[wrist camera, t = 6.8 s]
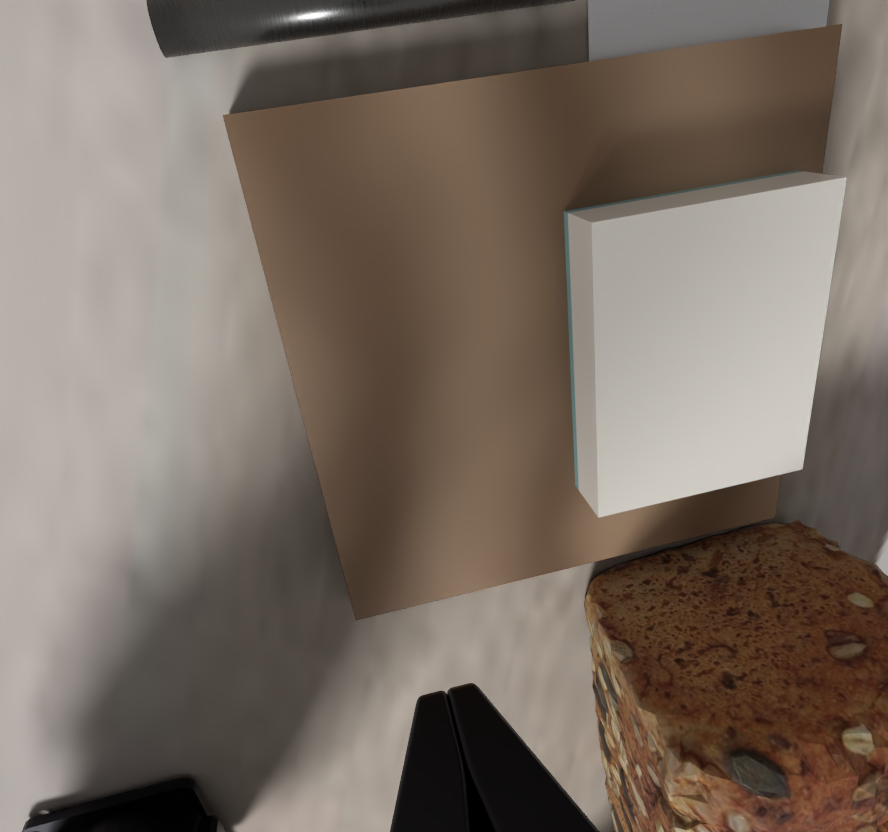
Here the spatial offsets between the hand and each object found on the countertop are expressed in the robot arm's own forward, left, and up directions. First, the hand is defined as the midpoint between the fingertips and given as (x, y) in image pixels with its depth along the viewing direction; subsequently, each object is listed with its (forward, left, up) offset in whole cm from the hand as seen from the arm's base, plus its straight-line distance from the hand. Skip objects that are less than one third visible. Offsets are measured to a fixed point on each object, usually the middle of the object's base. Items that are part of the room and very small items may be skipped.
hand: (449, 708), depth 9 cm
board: (+6, 0, -12) cm, 13 cm away
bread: (+12, -18, -12) cm, 25 cm away
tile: (+6, 0, -10) cm, 11 cm away
